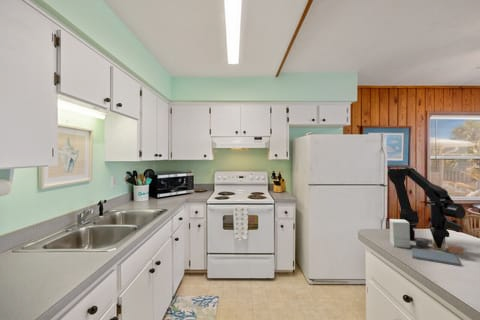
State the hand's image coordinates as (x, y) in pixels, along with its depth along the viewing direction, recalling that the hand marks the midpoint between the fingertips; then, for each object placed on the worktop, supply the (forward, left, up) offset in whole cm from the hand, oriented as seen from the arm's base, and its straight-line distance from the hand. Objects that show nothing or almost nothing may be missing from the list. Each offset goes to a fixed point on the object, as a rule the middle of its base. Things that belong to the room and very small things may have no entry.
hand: (438, 246), depth 121 cm
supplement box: (-16, -3, -2) cm, 16 cm away
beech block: (0, 0, -1) cm, 1 cm away
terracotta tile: (+6, -1, -1) cm, 6 cm away
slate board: (-3, -14, -1) cm, 14 cm away
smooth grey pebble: (-7, +1, -1) cm, 7 cm away
